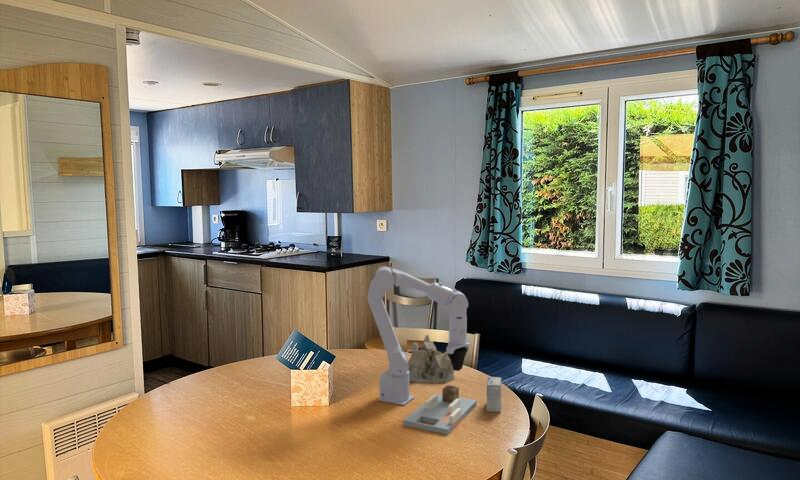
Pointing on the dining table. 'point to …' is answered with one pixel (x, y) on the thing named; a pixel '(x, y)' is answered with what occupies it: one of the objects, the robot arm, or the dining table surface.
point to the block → (450, 393)
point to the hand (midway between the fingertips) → (457, 369)
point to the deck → (440, 414)
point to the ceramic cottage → (429, 364)
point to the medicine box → (494, 394)
